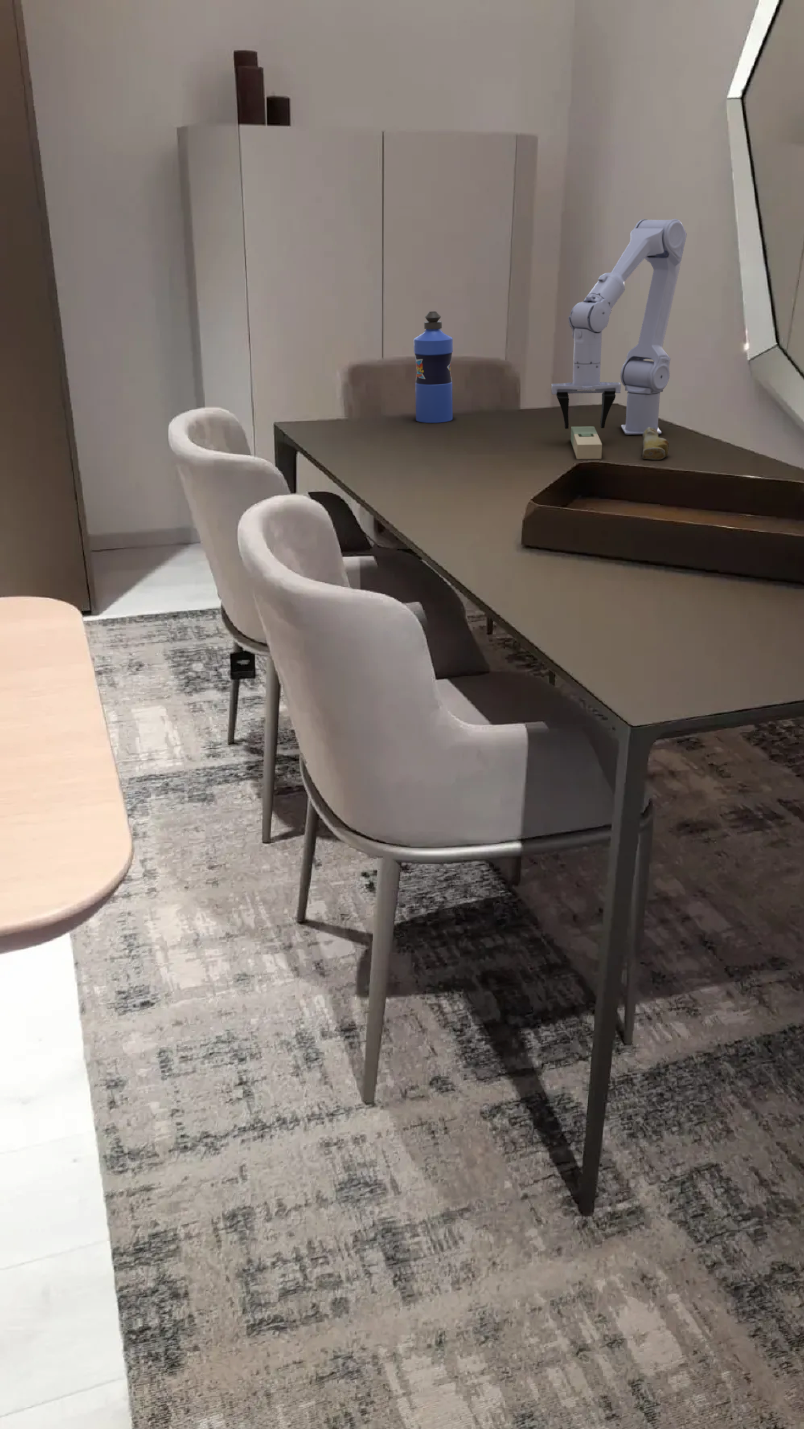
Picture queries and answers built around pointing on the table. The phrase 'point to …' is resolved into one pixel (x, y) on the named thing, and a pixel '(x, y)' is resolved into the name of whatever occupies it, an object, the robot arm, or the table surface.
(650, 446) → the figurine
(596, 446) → the cream pad
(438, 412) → the water bottle
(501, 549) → the table surface
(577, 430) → the green notched block
